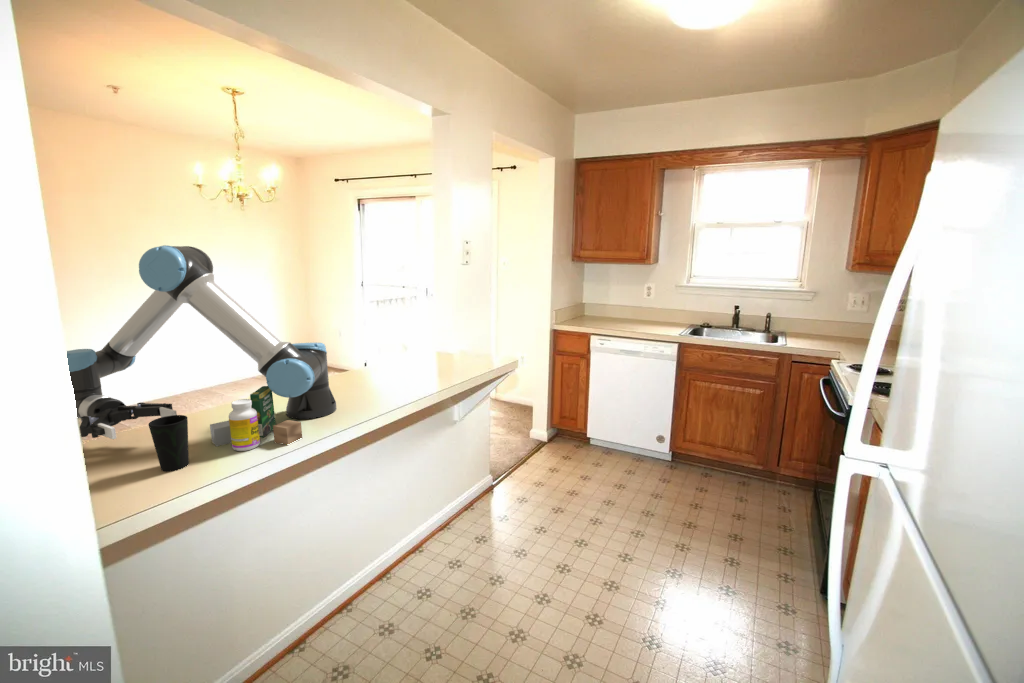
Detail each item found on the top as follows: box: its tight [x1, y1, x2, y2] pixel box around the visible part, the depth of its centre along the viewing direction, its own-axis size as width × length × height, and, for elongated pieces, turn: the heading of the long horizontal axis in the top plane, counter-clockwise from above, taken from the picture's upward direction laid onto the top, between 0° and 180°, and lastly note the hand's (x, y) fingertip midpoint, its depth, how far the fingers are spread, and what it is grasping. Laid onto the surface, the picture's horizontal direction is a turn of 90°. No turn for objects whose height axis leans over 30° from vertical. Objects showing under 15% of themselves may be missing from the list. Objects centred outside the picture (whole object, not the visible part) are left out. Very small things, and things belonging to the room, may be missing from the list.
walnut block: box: [272, 419, 303, 445], centre depth 131 cm, size 5×5×5 cm
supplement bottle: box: [228, 398, 261, 452], centre depth 126 cm, size 7×7×13 cm
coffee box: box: [249, 385, 277, 438], centre depth 135 cm, size 8×3×13 cm, turn 2°
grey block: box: [209, 419, 232, 447], centre depth 130 cm, size 5×5×5 cm
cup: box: [147, 414, 190, 473], centre depth 114 cm, size 8×8×12 cm
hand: (146, 424), depth 118 cm, fingers open, 13 cm apart
